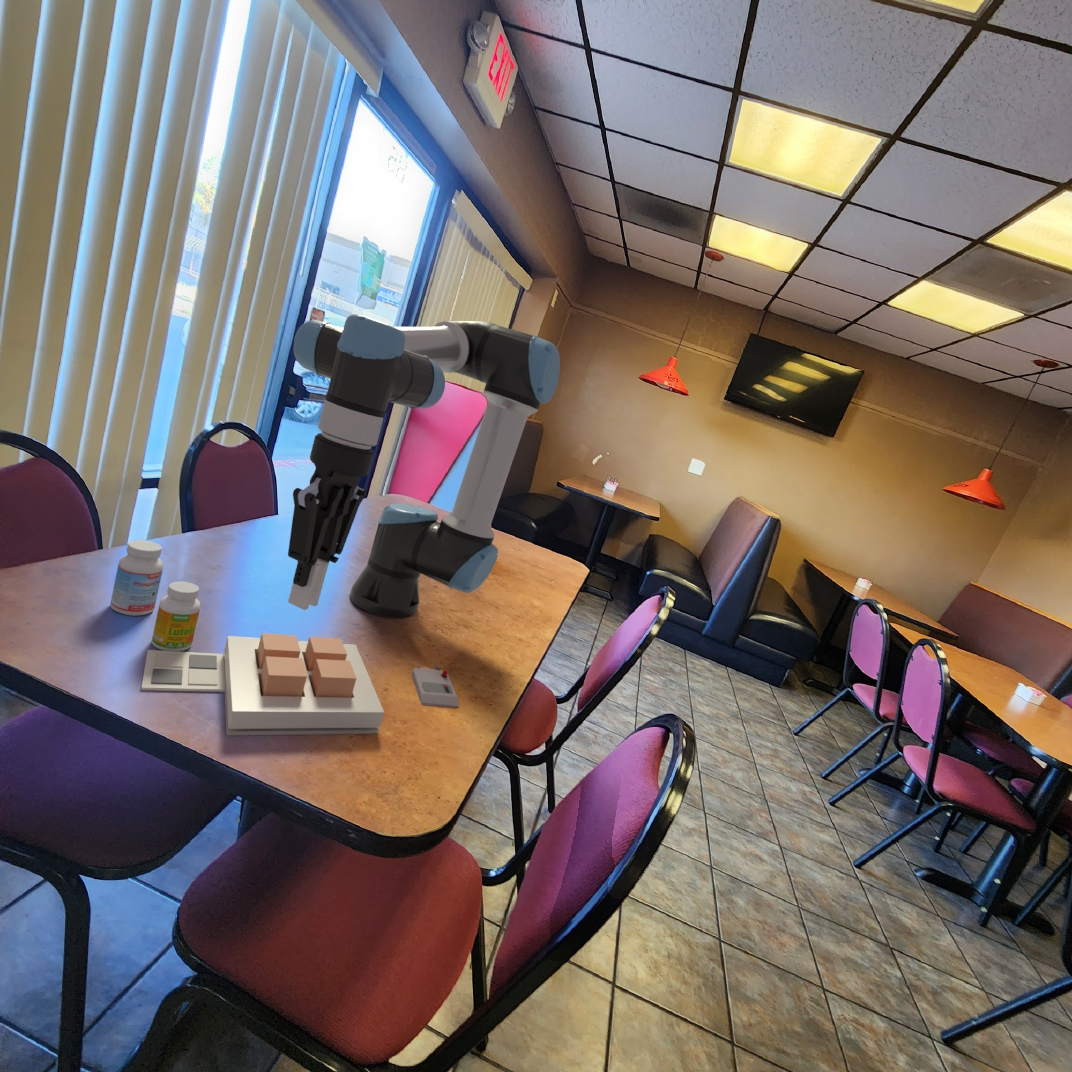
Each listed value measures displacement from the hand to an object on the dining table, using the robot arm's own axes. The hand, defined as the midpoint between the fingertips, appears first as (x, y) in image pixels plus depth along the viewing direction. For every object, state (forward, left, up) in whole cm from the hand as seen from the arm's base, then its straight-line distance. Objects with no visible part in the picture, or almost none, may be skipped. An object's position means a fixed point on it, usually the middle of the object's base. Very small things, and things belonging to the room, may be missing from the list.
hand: (302, 603), depth 80 cm
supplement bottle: (+14, -16, -17) cm, 27 cm away
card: (+12, -8, -16) cm, 22 cm away
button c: (-7, 0, -13) cm, 15 cm away
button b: (0, -7, -13) cm, 15 cm away
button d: (-7, -7, -13) cm, 17 cm away
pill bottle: (+20, -28, -17) cm, 38 cm away
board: (-4, -4, -16) cm, 17 cm away
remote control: (-27, -7, -17) cm, 33 cm away
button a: (0, 0, -13) cm, 13 cm away
